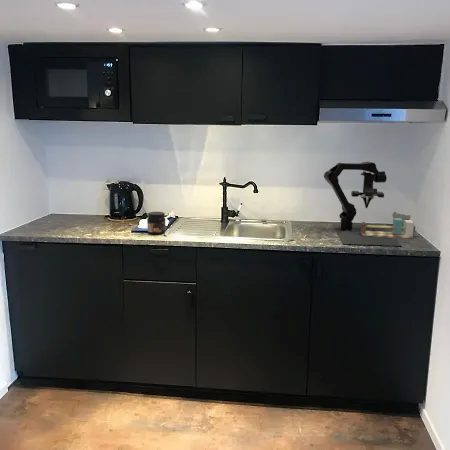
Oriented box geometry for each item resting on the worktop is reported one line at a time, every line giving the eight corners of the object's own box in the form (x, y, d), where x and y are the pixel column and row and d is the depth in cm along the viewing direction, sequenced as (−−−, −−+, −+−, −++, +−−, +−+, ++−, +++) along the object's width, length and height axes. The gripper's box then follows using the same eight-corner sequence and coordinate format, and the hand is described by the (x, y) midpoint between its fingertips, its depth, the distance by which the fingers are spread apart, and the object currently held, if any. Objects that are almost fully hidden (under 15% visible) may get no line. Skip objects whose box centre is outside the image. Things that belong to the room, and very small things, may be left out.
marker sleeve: (394, 234, 274) (395, 220, 272) (392, 231, 279) (393, 217, 277) (401, 234, 273) (403, 220, 271) (399, 232, 279) (400, 218, 277)
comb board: (362, 236, 274) (363, 224, 273) (360, 232, 284) (361, 220, 282) (412, 238, 271) (414, 226, 269) (408, 234, 280) (409, 222, 279)
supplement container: (145, 235, 272) (145, 214, 269) (149, 230, 282) (149, 211, 279) (163, 235, 271) (163, 215, 268) (167, 231, 281) (167, 211, 278)
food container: (386, 228, 295) (388, 212, 293) (393, 227, 298) (395, 211, 296) (401, 232, 285) (403, 216, 282) (409, 231, 288) (410, 215, 285)
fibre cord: (364, 227, 277) (364, 225, 277) (364, 227, 279) (364, 224, 278) (405, 229, 274) (405, 226, 274) (405, 228, 276) (405, 226, 275)
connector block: (405, 235, 272) (406, 222, 271) (402, 233, 279) (403, 219, 277) (415, 236, 272) (416, 222, 270) (412, 233, 278) (413, 220, 277)
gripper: (354, 184, 280) (352, 210, 284) (386, 185, 277) (384, 211, 281) (351, 181, 291) (350, 206, 294) (383, 182, 288) (381, 207, 292)
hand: (366, 208), depth 290 cm, fingers closed
